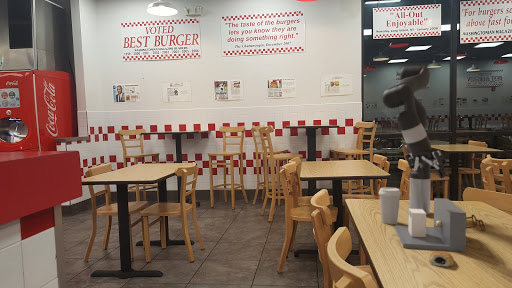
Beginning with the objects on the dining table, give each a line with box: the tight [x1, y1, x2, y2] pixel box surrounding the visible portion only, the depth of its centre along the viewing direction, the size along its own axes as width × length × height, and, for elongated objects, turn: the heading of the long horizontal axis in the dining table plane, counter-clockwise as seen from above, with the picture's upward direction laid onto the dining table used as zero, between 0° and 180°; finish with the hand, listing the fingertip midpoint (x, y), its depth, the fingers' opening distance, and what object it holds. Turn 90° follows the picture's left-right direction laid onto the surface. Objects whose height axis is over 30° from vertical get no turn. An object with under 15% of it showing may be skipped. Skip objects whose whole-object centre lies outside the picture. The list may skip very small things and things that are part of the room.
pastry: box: [428, 250, 455, 268], centre depth 119 cm, size 9×7×4 cm
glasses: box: [466, 214, 486, 232], centre depth 157 cm, size 13×13×5 cm
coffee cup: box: [378, 187, 402, 225], centre depth 166 cm, size 10×10×15 cm
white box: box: [407, 208, 427, 237], centre depth 143 cm, size 7×5×9 cm
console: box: [394, 197, 467, 252], centre depth 142 cm, size 24×20×14 cm
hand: (432, 177), depth 137 cm, fingers open, 8 cm apart
